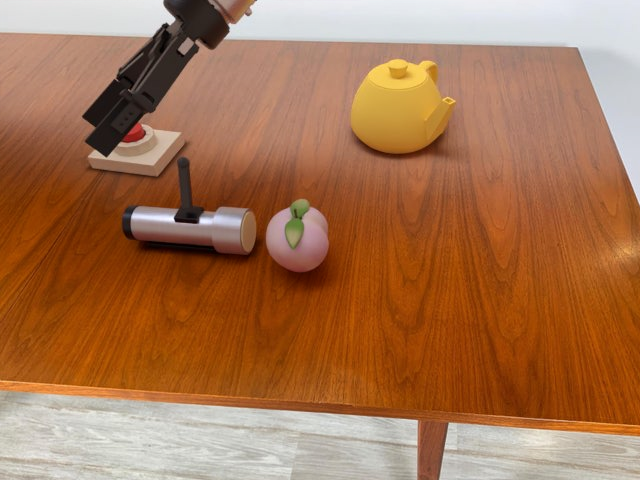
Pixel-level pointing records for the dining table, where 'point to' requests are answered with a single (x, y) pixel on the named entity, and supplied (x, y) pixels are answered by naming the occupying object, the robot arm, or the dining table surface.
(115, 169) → the beige dock base
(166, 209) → the flashlight
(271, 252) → the decorative fruit
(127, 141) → the dock button
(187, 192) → the flashlight switch
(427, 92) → the teapot
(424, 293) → the dining table surface
